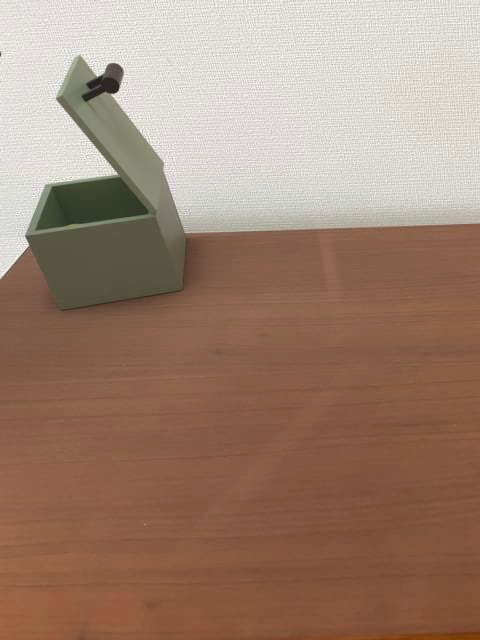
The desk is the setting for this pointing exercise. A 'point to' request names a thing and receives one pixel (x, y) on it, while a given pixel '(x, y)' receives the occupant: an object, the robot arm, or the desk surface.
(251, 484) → the desk surface
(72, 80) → the lid
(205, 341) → the desk surface
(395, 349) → the desk surface
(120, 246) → the chest
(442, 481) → the desk surface
